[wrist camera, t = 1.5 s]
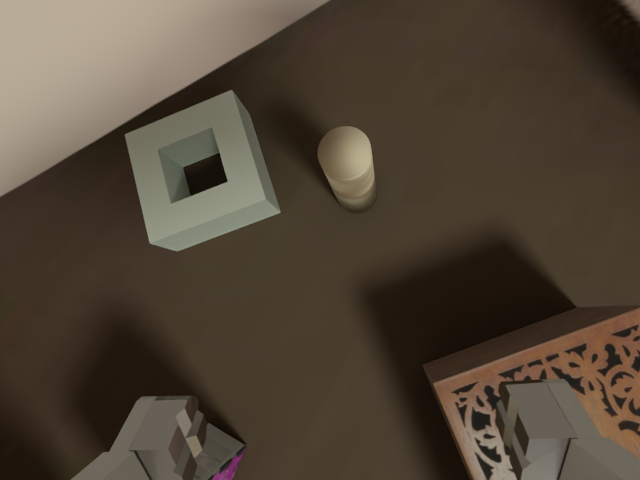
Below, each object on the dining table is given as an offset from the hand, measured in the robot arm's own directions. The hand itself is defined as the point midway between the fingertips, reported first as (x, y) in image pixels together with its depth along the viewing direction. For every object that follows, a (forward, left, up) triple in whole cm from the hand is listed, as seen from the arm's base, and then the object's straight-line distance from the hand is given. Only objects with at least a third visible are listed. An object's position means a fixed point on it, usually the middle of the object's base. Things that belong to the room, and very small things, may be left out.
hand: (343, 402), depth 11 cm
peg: (-3, -14, -27) cm, 31 cm away
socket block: (+11, -21, -27) cm, 36 cm away
